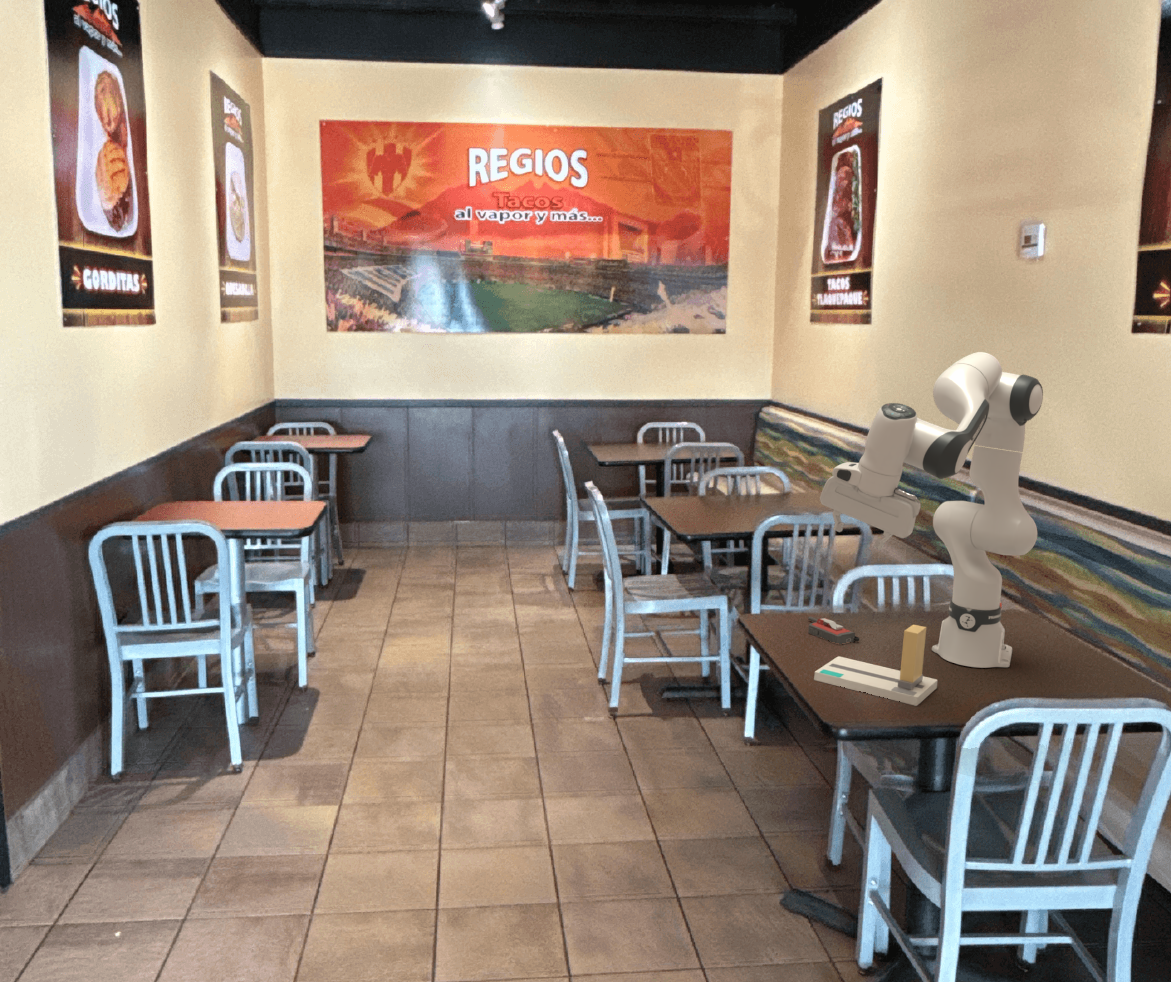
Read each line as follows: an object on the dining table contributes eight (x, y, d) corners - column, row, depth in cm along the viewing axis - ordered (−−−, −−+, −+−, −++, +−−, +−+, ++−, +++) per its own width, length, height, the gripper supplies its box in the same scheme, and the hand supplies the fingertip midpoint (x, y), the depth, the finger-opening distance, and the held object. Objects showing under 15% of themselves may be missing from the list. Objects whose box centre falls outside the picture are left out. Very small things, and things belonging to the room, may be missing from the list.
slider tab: (909, 676, 240) (914, 623, 237) (922, 680, 238) (927, 626, 235) (897, 686, 233) (902, 631, 231) (910, 689, 231) (916, 634, 229)
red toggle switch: (865, 643, 270) (811, 621, 287) (866, 627, 270) (812, 606, 286) (840, 648, 266) (787, 626, 282) (842, 632, 265) (788, 610, 282)
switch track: (837, 664, 253) (838, 655, 252) (936, 688, 239) (937, 679, 239) (814, 680, 242) (814, 671, 241) (916, 706, 228) (917, 697, 228)
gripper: (928, 495, 214) (908, 554, 219) (838, 460, 224) (821, 517, 229) (918, 502, 209) (897, 562, 214) (826, 465, 219) (809, 524, 224)
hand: (857, 539), depth 222 cm, fingers open, 8 cm apart
